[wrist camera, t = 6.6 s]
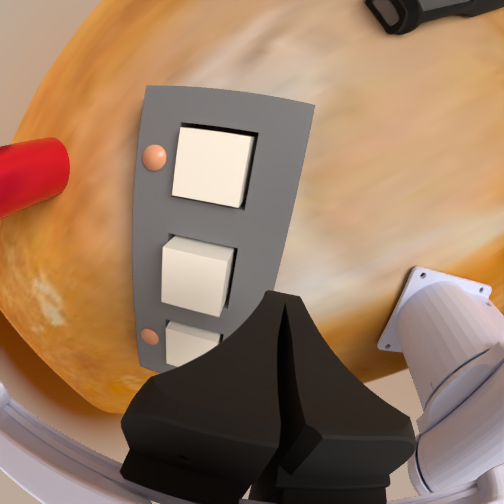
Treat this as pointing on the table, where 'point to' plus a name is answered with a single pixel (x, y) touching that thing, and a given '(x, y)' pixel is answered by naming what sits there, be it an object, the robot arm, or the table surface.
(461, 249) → the table surface
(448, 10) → the electric trimmer
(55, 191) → the bottle
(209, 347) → the key
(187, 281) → the key middle
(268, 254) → the key panel
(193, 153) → the key
